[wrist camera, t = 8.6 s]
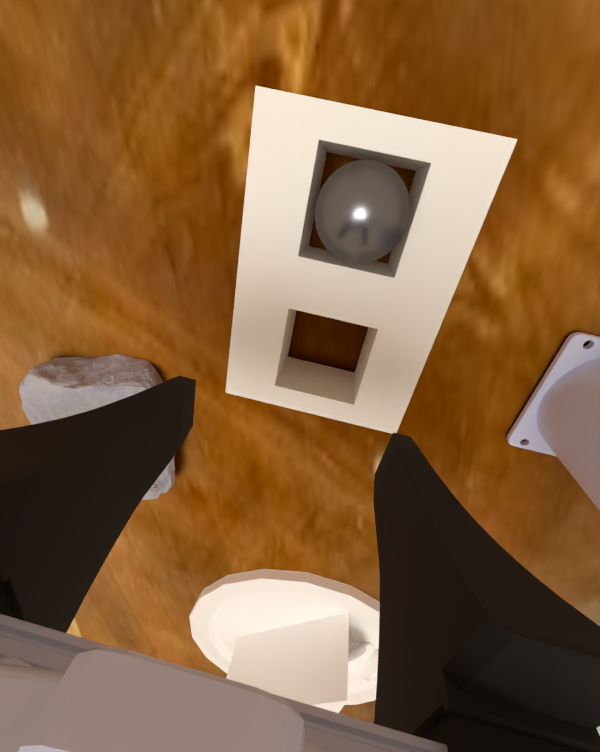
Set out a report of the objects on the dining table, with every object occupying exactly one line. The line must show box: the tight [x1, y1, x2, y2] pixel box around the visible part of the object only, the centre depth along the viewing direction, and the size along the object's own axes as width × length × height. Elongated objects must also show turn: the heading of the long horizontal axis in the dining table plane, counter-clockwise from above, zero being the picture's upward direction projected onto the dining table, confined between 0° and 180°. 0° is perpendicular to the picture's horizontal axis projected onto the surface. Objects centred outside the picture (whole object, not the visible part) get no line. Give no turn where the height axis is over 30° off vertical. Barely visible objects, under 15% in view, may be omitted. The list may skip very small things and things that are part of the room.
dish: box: [189, 569, 380, 713], centre depth 34 cm, size 25×25×11 cm
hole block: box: [226, 86, 517, 434], centre depth 18 cm, size 10×14×4 cm
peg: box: [315, 159, 410, 263], centre depth 14 cm, size 3×3×8 cm
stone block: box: [19, 354, 176, 500], centre depth 26 cm, size 12×5×10 cm
